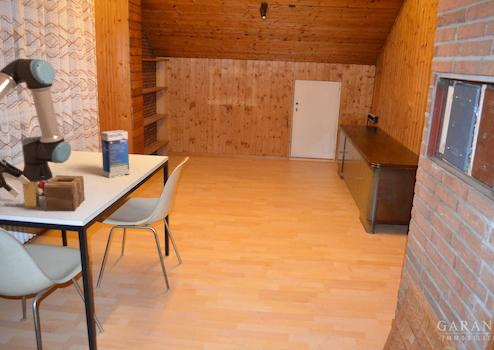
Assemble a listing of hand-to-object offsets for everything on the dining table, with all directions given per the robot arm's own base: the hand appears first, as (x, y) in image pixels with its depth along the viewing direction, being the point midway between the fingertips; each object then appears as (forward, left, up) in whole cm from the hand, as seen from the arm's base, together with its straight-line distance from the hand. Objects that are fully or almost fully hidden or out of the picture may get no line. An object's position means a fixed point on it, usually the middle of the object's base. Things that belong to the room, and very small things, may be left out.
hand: (24, 191), depth 187 cm
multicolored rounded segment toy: (-20, +1, -8) cm, 21 cm away
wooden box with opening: (-3, +16, -8) cm, 18 cm away
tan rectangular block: (-1, +2, -8) cm, 8 cm away
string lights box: (-58, +27, -8) cm, 65 cm away
